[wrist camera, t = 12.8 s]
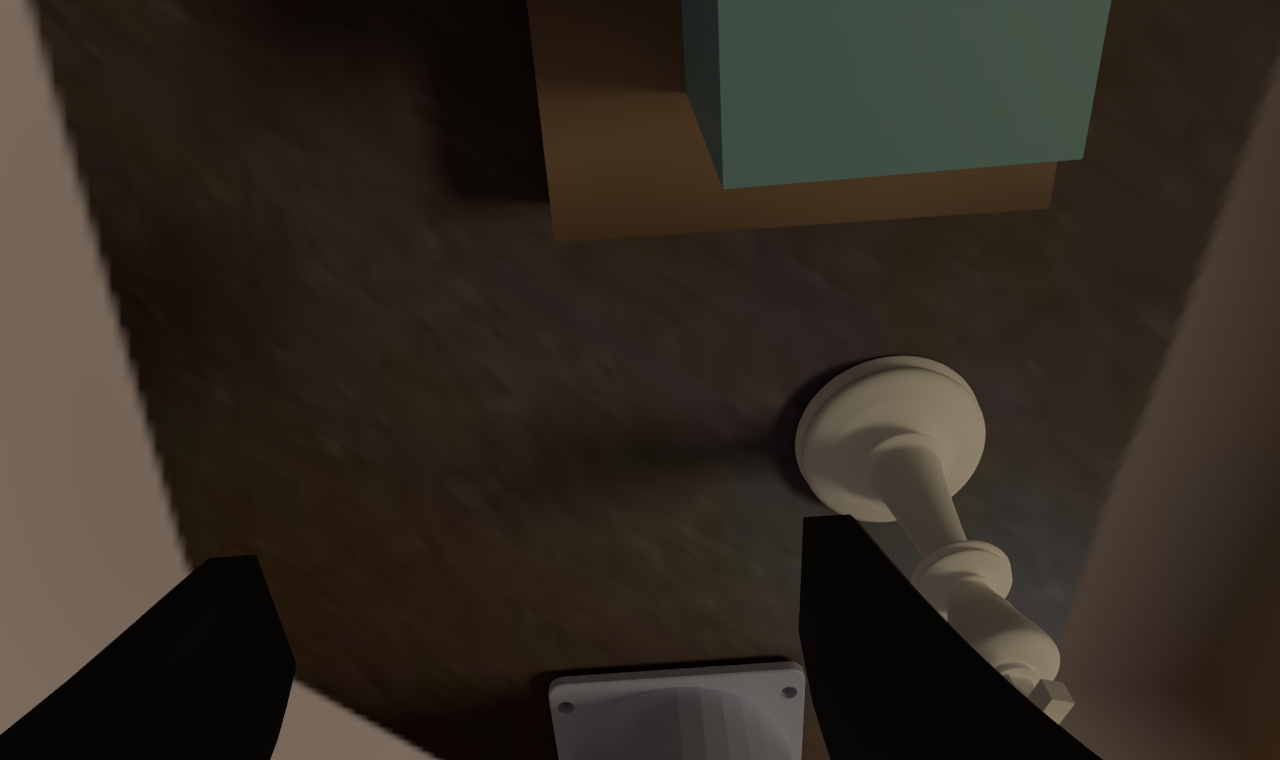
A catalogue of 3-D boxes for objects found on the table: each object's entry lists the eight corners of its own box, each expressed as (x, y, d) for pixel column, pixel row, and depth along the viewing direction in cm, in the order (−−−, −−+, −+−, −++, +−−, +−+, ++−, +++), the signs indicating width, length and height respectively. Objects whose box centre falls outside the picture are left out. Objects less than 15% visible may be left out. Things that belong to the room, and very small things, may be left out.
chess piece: (768, 488, 24) (860, 833, 15) (836, 334, 21) (992, 635, 13) (929, 524, 25) (1106, 870, 16) (1012, 379, 22) (1272, 691, 14)
